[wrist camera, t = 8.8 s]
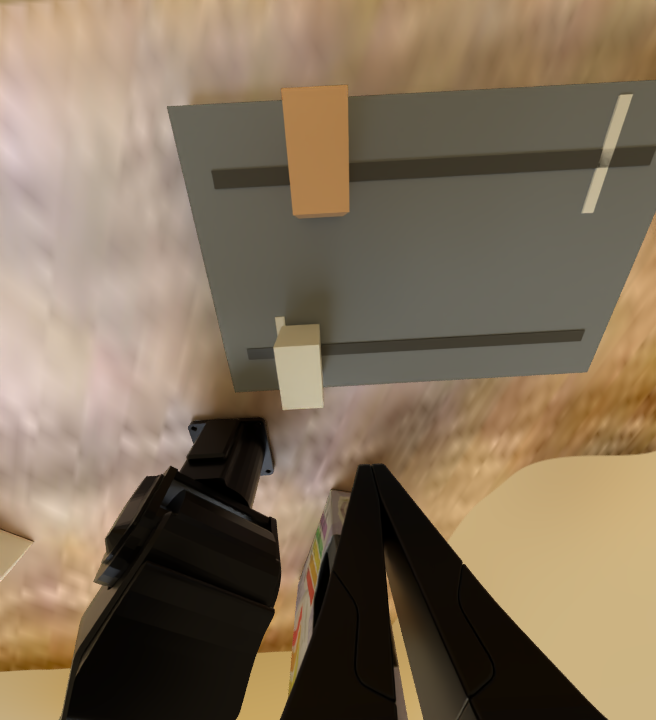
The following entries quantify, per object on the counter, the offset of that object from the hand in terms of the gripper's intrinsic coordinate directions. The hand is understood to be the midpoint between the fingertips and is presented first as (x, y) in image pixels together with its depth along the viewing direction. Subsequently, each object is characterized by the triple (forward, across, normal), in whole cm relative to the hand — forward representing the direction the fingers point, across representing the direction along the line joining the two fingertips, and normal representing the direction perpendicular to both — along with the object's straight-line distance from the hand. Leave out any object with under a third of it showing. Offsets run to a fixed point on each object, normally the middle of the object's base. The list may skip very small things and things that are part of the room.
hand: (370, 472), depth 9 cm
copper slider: (+10, +1, -10) cm, 14 cm away
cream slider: (+10, +3, 0) cm, 11 cm away
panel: (+13, -5, -5) cm, 14 cm away
